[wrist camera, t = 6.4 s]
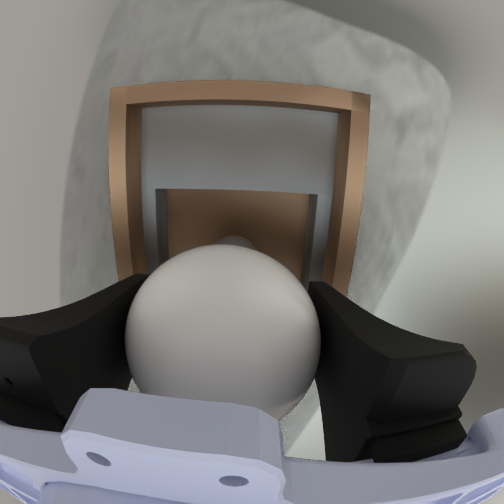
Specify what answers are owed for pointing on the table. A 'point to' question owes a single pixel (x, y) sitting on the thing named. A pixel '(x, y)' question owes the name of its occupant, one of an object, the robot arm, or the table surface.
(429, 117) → the table surface
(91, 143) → the table surface
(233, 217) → the socket box
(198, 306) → the lightbulb
